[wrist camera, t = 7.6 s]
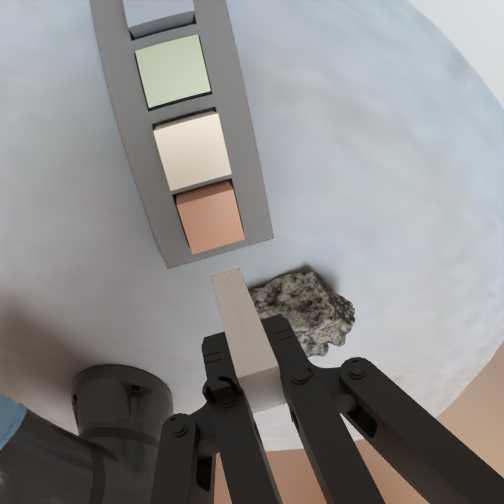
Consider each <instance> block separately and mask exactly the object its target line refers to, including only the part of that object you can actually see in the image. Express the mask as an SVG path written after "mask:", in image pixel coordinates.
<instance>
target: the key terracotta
mask: <svg viewBox="0 0 504 504" xmlns="http://www.w3.org/2000/svg"><path fill="white" fill-rule="evenodd" d="M176 196H177V208H178V211H179V214H180V217H181V220H182V223H183V227H184V230H185V233H186V236H187V239H188V242H189V245H190V248H191V251H192V254H196V253H200V252H203V251H207V250H210V249H214V248H217V247H220V246H224V245H227V244H231V243H234V242H238V241H241V240H245V238H244V233H243V229H242V225H241V220H240V216H239V212H238V207H237V203H236V199H235V195H234V190H233V188H232V186H231V185H230V183H229V181H228V180H227V179H226V180H222V181H218V182H215V183H211V184H207V185H204V186H200V187H197V188H193V189H190V190H187V191H183V192H180V193H176Z"/></svg>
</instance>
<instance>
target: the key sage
mask: <svg viewBox="0 0 504 504" xmlns="http://www.w3.org/2000/svg"><path fill="white" fill-rule="evenodd" d="M135 53H136V58H137V62H138V66H139V70H140V75H141V79H142V83H143V87H144V91H145V95H146V99H147V103H148V107H149V108H150V107H154V106H157V105H160V104H164V103H167V102H170V101H174V100H178V99H181V98H185V97H189V96H193V95H197V94H201V93H205V92H209V91H211V90H210V85H209V81H208V76H207V72H206V68H205V63H204V59H203V54H202V50H201V45H200V41H199V37H198V35H193V36H188V37H184V38H180V39H176V40H172V41H168V42H164V43H161V44H157V45H154V46H150V47H147V48H144V49H140V50H137V51H135Z"/></svg>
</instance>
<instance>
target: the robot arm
mask: <svg viewBox="0 0 504 504" xmlns="http://www.w3.org/2000/svg"><path fill="white" fill-rule="evenodd" d="M211 278H212V283H213V287H214V291H215V295H216V299H217V303H218V307H219V311H220V315H221V319H222V323H223V327H224V331H225V332H222V333H218V334H215V335H211V336H208V337H204V340H203V343H202V353H203V357H204V358H203V359H204V364H205V370H206V375H207V381H206V382H205V384H204V386H203V392H202V393H203V395H204V397H205V398H206V400H207V402H206V404H205V405H204V406H203V407H202V408H200V409H199V410H197V411H196V412H194V413H192V414H190V415H187V414H182V413H179V414H174V415H173V398H172V394H171V392H170V390H169V388H168V387H167V386H166V385H165V384H164V383H163V382H162V381H161V380H159V379H158V378H156V377H155V376H153V375H151V374H149V373H147V372H144V371H142V370H139V369H135V368H131V367H126V366H119V365H102V366H95V367H91V368H88V369H86V370H84V371H82V372H81V373H80V374H78V375H77V377H76V378H75V380H74V382H73V387H72V393H71V401H72V406H73V411H74V415H75V420H76V424H77V428H78V433H79V436H77V435H74V434H72V433H70V432H68V431H66V430H64V429H63V428H61V427H59V426H57V425H55V424H53V423H51V422H49V421H48V420H46V419H44V418H42V417H40V416H39V415H37V414H35V413H34V412H32V411H30V410H28V409H27V408H26V407H25V406H24V405H23V404H21V403H16V402H15V401H13V400H11V399H10V398H8V397H6V396H5V395H3V394H1V393H0V504H214V485H215V467H216V454H217V453H218V452H220V457H221V461H222V465H223V469H224V473H225V477H226V482H227V485H228V489H229V493H230V497H231V500H232V504H283V502H282V500H281V497H280V494H279V491H278V488H277V485H276V482H275V480H274V477H273V474H272V471H271V468H270V465H269V462H268V459H267V456H266V453H265V450H264V447H263V444H262V440H261V437H260V434H259V431H258V428H257V425H256V423H255V420H254V417H253V414H252V413H256V412H259V411H262V410H266V409H269V408H272V407H275V406H278V405H281V404H284V403H287V404H288V406H289V409H290V414H291V419H292V422H293V421H294V424H295V426H296V429H297V431H298V434H299V436H300V439H301V441H302V444H303V446H304V449H305V451H306V454H307V456H308V459H309V461H310V463H311V466H312V468H313V470H314V473H315V476H316V478H317V480H318V483H319V485H320V487H321V490H322V492H323V495H324V497H325V499H326V502H327V504H385V502H384V500H383V498H382V496H381V494H380V492H379V490H378V488H377V486H376V484H375V482H374V480H373V478H372V476H371V474H370V472H369V470H368V468H367V467H366V465H365V463H364V461H363V459H362V457H361V455H360V453H359V451H358V449H357V447H356V445H355V443H354V441H353V439H352V437H351V435H350V433H349V431H348V429H347V427H346V425H345V423H344V421H343V420H342V418H341V416H340V414H339V413H341V414H342V415H343V416H344V417H345V418H346V419H347V420H348V421H349V422H350V423H351V424H352V425H353V426H354V428H355V429H356V430H357V431H358V432H359V433H360V434H361V435H362V436H363V437H364V438H365V439H366V440H367V441H368V442H369V443H370V444H371V445H372V446H373V447H374V448H375V449H376V451H378V453H379V454H380V455H381V456H382V457H383V458H384V459H385V460H386V461H387V462H388V463H389V464H390V465H391V466H392V467H393V468H394V469H395V470H396V471H397V472H398V473H399V474H400V475H401V476H402V477H403V478H404V479H405V480H406V481H407V482H408V483H409V484H410V485H411V486H412V487H413V488H414V489H415V490H416V491H417V492H418V493H419V494H421V496H422V497H423V498H424V499H426V500H427V501H428V502H429V503H430V504H504V478H503V477H501V476H500V475H499V474H498V473H497V472H496V471H495V470H493V469H492V468H491V467H490V466H489V465H487V464H486V463H485V462H484V461H483V460H482V459H481V458H480V457H478V456H477V455H476V454H475V453H474V452H473V451H472V450H470V449H469V448H468V447H467V446H466V445H465V444H463V443H462V442H461V441H460V440H459V439H458V438H457V437H456V436H454V435H453V434H452V433H451V432H450V431H449V430H448V429H446V428H445V427H444V426H443V425H442V424H441V423H440V422H438V421H437V420H436V419H435V418H434V417H433V416H432V415H430V414H429V413H428V412H427V411H426V410H425V409H424V408H422V407H421V406H420V405H419V404H418V403H417V402H416V401H414V400H413V399H412V398H411V397H410V396H409V395H408V394H406V393H405V392H404V391H403V390H402V389H401V388H400V387H399V386H397V385H396V384H395V383H394V382H393V381H392V380H391V379H389V378H388V377H387V376H386V375H385V374H384V373H383V372H381V371H380V370H379V369H378V368H377V367H376V366H375V365H373V364H372V363H371V362H370V361H368V360H367V359H365V358H360V357H355V358H350V359H348V360H346V361H345V362H344V363H343V364H342V365H341V367H337V368H320V367H317V366H315V365H313V364H312V363H311V362H310V361H309V360H308V358H307V356H306V354H305V352H304V350H303V348H302V346H301V344H300V342H299V340H298V338H297V337H296V335H295V333H294V331H293V329H292V327H291V325H290V323H289V321H288V319H286V318H285V317H284V316H282V315H281V314H278V315H274V316H271V317H268V318H265V319H262V320H260V319H259V316H258V314H257V311H256V309H255V306H254V304H253V301H252V299H251V296H250V294H249V291H248V289H247V286H246V284H245V281H244V279H243V276H242V274H241V271H240V269H235V270H232V271H228V272H225V273H222V274H218V275H215V276H212V277H211Z"/></svg>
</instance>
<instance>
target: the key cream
mask: <svg viewBox="0 0 504 504" xmlns="http://www.w3.org/2000/svg"><path fill="white" fill-rule="evenodd" d="M153 132H154V136H155V140H156V143H157V147H158V150H159V154H160V157H161V161H162V164H163V168H164V171H165V174H166V178H167V181H168V184H169V188H170V191H173V190H177V189H180V188H183V187H187V186H190V185H194V184H197V183H201V182H204V181H208V180H211V179H215V178H219V177H222V176H226V175H230V174H232V172H231V168H230V164H229V159H228V155H227V150H226V146H225V142H224V137H223V133H222V128H221V124H220V120H219V115H218V113H216V112H214V111H208V112H204V113H200V114H196V115H192V116H189V117H185V118H181V119H178V120H174V121H171V122H167V123H164V124H161V125H157V126H156V128H155V129H154V131H153Z"/></svg>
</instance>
